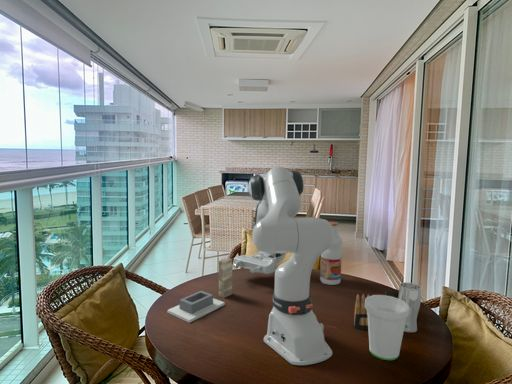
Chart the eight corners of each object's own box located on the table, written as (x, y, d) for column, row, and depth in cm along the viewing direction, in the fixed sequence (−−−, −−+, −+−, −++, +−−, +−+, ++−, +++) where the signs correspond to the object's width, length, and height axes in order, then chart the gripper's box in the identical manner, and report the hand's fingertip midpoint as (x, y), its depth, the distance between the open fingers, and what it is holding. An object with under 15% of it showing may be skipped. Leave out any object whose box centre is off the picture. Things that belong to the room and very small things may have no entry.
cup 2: (411, 367, 94) (415, 315, 92) (365, 362, 96) (368, 311, 94) (400, 342, 106) (403, 296, 104) (359, 338, 108) (361, 293, 106)
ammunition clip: (354, 328, 114) (355, 294, 113) (353, 325, 116) (354, 292, 115) (386, 329, 114) (388, 295, 112) (384, 326, 116) (386, 293, 114)
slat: (232, 294, 141) (232, 259, 139) (224, 297, 137) (224, 262, 135) (226, 292, 143) (226, 257, 141) (218, 296, 139) (218, 260, 137)
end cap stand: (224, 304, 130) (224, 293, 130) (189, 322, 116) (189, 310, 116) (203, 296, 138) (202, 286, 137) (167, 312, 123) (167, 301, 123)
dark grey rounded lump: (379, 310, 128) (380, 289, 127) (395, 307, 130) (396, 287, 129) (392, 319, 121) (393, 298, 120) (409, 316, 123) (410, 295, 122)
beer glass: (405, 334, 111) (408, 291, 109) (391, 324, 117) (394, 283, 116) (423, 331, 113) (426, 289, 111) (408, 321, 119) (411, 281, 117)
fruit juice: (325, 276, 163) (327, 219, 160) (343, 281, 157) (346, 222, 154) (316, 282, 155) (318, 222, 152) (335, 287, 150) (337, 225, 146)
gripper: (244, 250, 164) (225, 257, 153) (279, 258, 152) (261, 266, 141) (244, 262, 165) (225, 270, 154) (279, 272, 153) (261, 280, 142)
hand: (242, 268), depth 147 cm, fingers open, 8 cm apart
